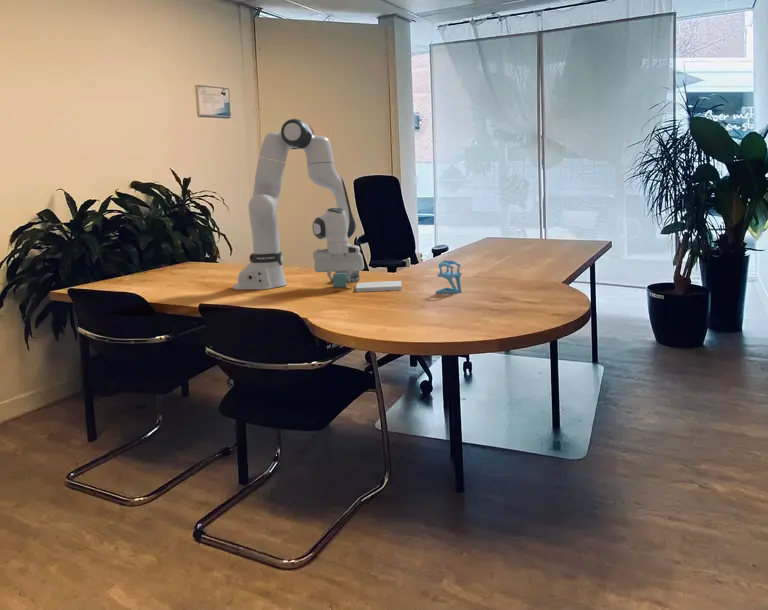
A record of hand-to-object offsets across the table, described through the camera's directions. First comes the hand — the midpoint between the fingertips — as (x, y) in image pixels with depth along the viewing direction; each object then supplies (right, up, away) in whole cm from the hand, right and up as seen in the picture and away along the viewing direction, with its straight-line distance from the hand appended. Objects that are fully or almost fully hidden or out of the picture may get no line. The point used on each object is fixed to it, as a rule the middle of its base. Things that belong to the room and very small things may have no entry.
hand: (340, 282), depth 266 cm
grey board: (+16, -3, -8) cm, 18 cm away
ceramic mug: (+3, +1, +13) cm, 14 cm away
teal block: (0, -2, 0) cm, 2 cm away
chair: (+43, -5, -23) cm, 49 cm away
